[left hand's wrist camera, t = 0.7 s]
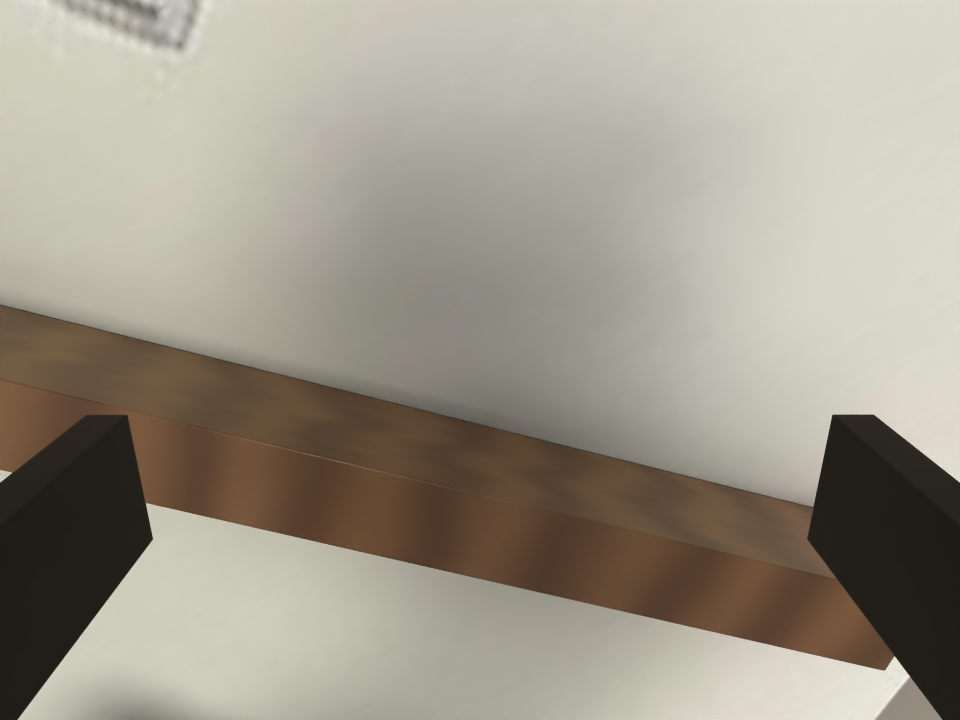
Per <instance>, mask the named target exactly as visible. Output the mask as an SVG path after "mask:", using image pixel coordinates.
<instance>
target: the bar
mask: <svg viewBox="0 0 960 720" xmlns="http://www.w3.org/2000/svg"><path fill="white" fill-rule="evenodd" d="M85 415H128V420H129V425H130V430H131V434H132V439H133V444H134V449H135V454H136V459H137V464H138V469H139V473H140V478H141V483H142V488H143V493H144V498H145V503H149V504H153V505H158V506H162V507H166V508H171V509H175V510H180V511H184V512H188V513H193V514H197V515H202V516H206V517H210V518H215V519H219V520H224V521H228V522H232V523H237V524H241V525H246V526H250V527H254V528H259V529H263V530H268V531H272V532H276V533H281V534H285V535H290V536H294V537H298V538H303V539H307V540H312V541H316V542H320V543H325V544H329V545H334V546H338V547H342V548H347V549H351V550H356V551H360V552H364V553H369V554H373V555H378V556H382V557H386V558H391V559H395V560H400V561H404V562H408V563H413V564H417V565H422V566H426V567H430V568H435V569H439V570H443V571H448V572H452V573H457V574H461V575H465V576H470V577H474V578H479V579H483V580H487V581H492V582H496V583H501V584H505V585H509V586H514V587H518V588H523V589H527V590H531V591H536V592H540V593H545V594H549V595H553V596H558V597H562V598H567V599H571V600H575V601H580V602H584V603H589V604H593V605H597V606H602V607H606V608H611V609H615V610H619V611H624V612H628V613H633V614H637V615H641V616H646V617H650V618H655V619H659V620H663V621H668V622H672V623H677V624H681V625H685V626H690V627H694V628H699V629H703V630H707V631H712V632H716V633H721V634H725V635H729V636H734V637H738V638H743V639H747V640H751V641H756V642H760V643H765V644H769V645H773V646H778V647H782V648H787V649H791V650H795V651H800V652H804V653H809V654H813V655H817V656H822V657H826V658H831V659H835V660H839V661H844V662H848V663H853V664H857V665H861V666H866V667H870V668H875V669H879V670H883V671H884V670H886V668H887V667H888V665H889V663H890V662H891V660H892V659H893V657H894V654H893V653H892V652H891V650H890V649H889V648H888V646H887V645H886V644H885V642H884V641H883V640H882V638H881V637H880V636H879V634H878V633H877V632H876V630H875V629H874V628H873V626H872V625H871V624H870V622H869V621H868V620H867V618H866V617H865V616H864V614H863V613H862V612H861V610H860V609H859V608H858V606H857V605H856V604H855V602H854V601H853V600H852V598H851V597H850V596H849V594H848V593H847V592H846V590H845V589H844V588H843V586H842V585H841V584H840V582H839V581H838V580H837V578H836V577H835V576H834V574H833V573H832V572H831V570H830V569H829V568H828V566H827V565H826V564H825V562H824V561H823V560H822V558H821V557H820V556H819V554H818V553H817V552H816V550H815V549H814V548H813V546H812V545H811V544H810V542H809V541H808V540H807V537H808V532H809V527H810V522H811V517H812V513H813V508H811V507H807V506H803V505H799V504H795V503H791V502H787V501H783V500H779V499H775V498H771V497H767V496H763V495H759V494H755V493H751V492H747V491H743V490H739V489H735V488H731V487H727V486H723V485H719V484H715V483H711V482H707V481H703V480H699V479H695V478H691V477H687V476H683V475H679V474H675V473H671V472H667V471H663V470H659V469H655V468H651V467H647V466H643V465H639V464H635V463H631V462H627V461H623V460H619V459H615V458H611V457H607V456H603V455H599V454H595V453H591V452H587V451H582V450H578V449H574V448H570V447H566V446H562V445H558V444H554V443H550V442H546V441H542V440H538V439H534V438H530V437H526V436H522V435H518V434H514V433H510V432H506V431H502V430H498V429H494V428H490V427H486V426H482V425H478V424H474V423H470V422H466V421H462V420H458V419H454V418H450V417H446V416H442V415H438V414H434V413H430V412H426V411H422V410H418V409H414V408H410V407H406V406H402V405H398V404H394V403H390V402H386V401H382V400H378V399H374V398H370V397H366V396H362V395H358V394H354V393H350V392H346V391H342V390H338V389H334V388H330V387H326V386H322V385H318V384H314V383H310V382H306V381H302V380H298V379H294V378H290V377H286V376H282V375H278V374H274V373H270V372H266V371H262V370H258V369H254V368H250V367H246V366H242V365H238V364H234V363H230V362H226V361H222V360H218V359H214V358H210V357H206V356H202V355H198V354H194V353H190V352H185V351H181V350H177V349H173V348H169V347H165V346H161V345H157V344H153V343H149V342H145V341H141V340H137V339H133V338H129V337H125V336H121V335H117V334H113V333H109V332H105V331H101V330H97V329H93V328H89V327H85V326H81V325H77V324H73V323H69V322H65V321H61V320H57V319H53V318H49V317H45V316H41V315H37V314H33V313H29V312H25V311H21V310H17V309H13V308H9V307H5V306H1V305H0V470H4V471H8V472H12V473H13V472H14V471H16V470H17V469H18V468H20V467H21V466H22V465H23V464H25V463H26V462H27V461H28V460H30V459H31V458H32V457H33V456H35V455H36V454H37V453H38V452H40V451H41V450H42V449H44V448H45V447H46V446H47V445H49V444H50V443H51V442H52V441H54V440H55V439H56V438H57V437H59V436H60V435H61V434H63V433H64V432H65V431H66V430H68V429H69V428H70V427H71V426H73V425H74V424H75V423H76V422H78V421H79V420H80V419H82V418H83V417H84V416H85Z"/></svg>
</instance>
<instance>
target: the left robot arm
mask: <svg viewBox="0 0 960 720" xmlns="http://www.w3.org/2000/svg"><path fill="white" fill-rule="evenodd" d="M152 540H153V537H152V532H151V527H150V522H149V517H148V513H147V508H146V503H145V498H144V493H143V488H142V483H141V478H140V473H139V469H138V464H137V459H136V454H135V449H134V444H133V439H132V434H131V430H130V425H129V420H128V415H85V416H84V417H83V418H82V419H80V420H79V421H78V422H76V423H75V424H74V425H73V426H71V427H70V428H69V429H68V430H66V431H65V432H64V433H63V434H61V435H60V436H59V437H57V438H56V439H55V440H54V441H52V442H51V443H50V444H49V445H47V446H46V447H45V448H44V449H42V450H41V451H40V452H38V453H37V454H36V455H35V456H33V457H32V458H31V459H30V460H28V461H27V462H26V463H25V464H23V465H22V466H21V467H20V468H18V469H17V470H16V471H14V472H13V473H12V474H11V475H9V476H8V477H7V478H6V479H4V480H3V481H2V482H1V483H0V720H18V718H19V717H20V716H21V714H22V713H23V712H24V710H25V709H26V708H27V706H28V705H29V704H30V702H31V701H32V700H33V698H34V697H35V696H36V694H37V693H38V692H39V690H40V689H41V688H42V686H43V685H44V684H45V682H46V681H47V680H48V678H49V677H50V676H51V674H52V673H53V672H54V670H55V669H56V668H57V666H58V665H59V664H60V662H61V661H62V660H63V658H64V657H65V656H66V654H67V653H68V652H69V650H70V649H71V648H72V646H73V645H74V644H75V642H76V641H77V640H78V638H79V637H80V636H81V634H82V633H83V632H84V630H85V629H86V628H87V626H88V625H89V624H90V622H91V621H92V620H93V618H94V617H95V616H96V614H97V613H98V612H99V610H100V609H101V608H102V606H103V605H104V604H105V602H106V601H107V600H108V598H109V597H110V596H111V594H112V593H113V592H114V590H115V589H116V588H117V586H118V585H119V584H120V582H121V581H122V580H123V578H124V577H125V576H126V574H127V573H128V572H129V570H130V569H131V568H132V566H133V565H134V564H135V562H136V561H137V560H138V558H139V557H140V556H141V554H142V553H143V552H144V550H145V549H146V548H147V546H148V545H149V544H150V542H151V541H152ZM807 540H808V541H809V542H810V544H811V545H812V546H813V548H814V549H815V550H816V552H817V553H818V554H819V556H820V557H821V558H822V560H823V561H824V562H825V564H826V565H827V566H828V568H829V569H830V570H831V572H832V573H833V574H834V576H835V577H836V578H837V580H838V581H839V582H840V584H841V585H842V586H843V588H844V589H845V590H846V592H847V593H848V594H849V596H850V597H851V598H852V600H853V601H854V602H855V604H856V605H857V606H858V608H859V609H860V610H861V612H862V613H863V614H864V616H865V617H866V618H867V620H868V621H869V622H870V624H871V625H872V626H873V628H874V629H875V630H876V632H877V633H878V634H879V636H880V637H881V638H882V640H883V641H884V642H885V644H886V645H887V646H888V648H889V649H890V650H891V652H892V653H893V654H894V656H895V657H896V658H897V660H898V661H899V662H900V664H901V665H902V666H903V668H904V669H905V670H906V672H907V673H908V674H909V676H910V677H911V678H912V680H913V681H914V682H915V684H916V685H917V686H918V688H919V689H920V690H921V692H922V693H923V694H924V696H925V697H926V698H927V700H928V701H929V702H930V704H931V705H932V706H933V708H934V709H935V710H936V712H937V713H938V714H939V715H940V717H941V718H942V720H960V483H959V482H958V481H957V480H956V479H954V478H953V477H952V476H951V475H949V474H948V473H947V472H946V471H944V470H943V469H942V468H941V467H939V466H938V465H937V464H935V463H934V462H933V461H932V460H930V459H929V458H928V457H927V456H925V455H924V454H923V453H922V452H920V451H919V450H918V449H916V448H915V447H914V446H913V445H911V444H910V443H909V442H908V441H906V440H905V439H904V438H903V437H901V436H900V435H899V434H897V433H896V432H895V431H894V430H892V429H891V428H890V427H889V426H887V425H886V424H885V423H884V422H882V421H881V420H880V419H878V418H877V417H876V416H875V415H832V420H831V425H830V430H829V434H828V439H827V444H826V449H825V454H824V459H823V464H822V469H821V473H820V478H819V483H818V488H817V493H816V498H815V503H814V508H813V513H812V517H811V522H810V527H809V532H808V537H807Z"/></svg>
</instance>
